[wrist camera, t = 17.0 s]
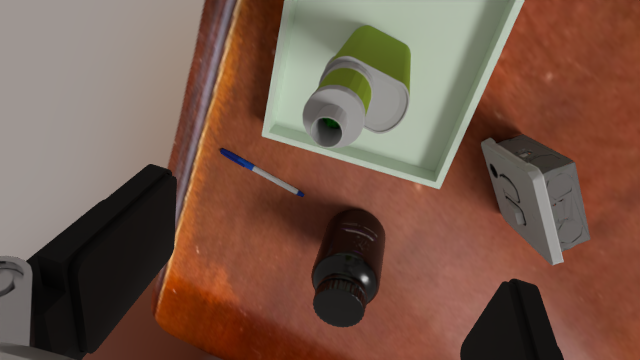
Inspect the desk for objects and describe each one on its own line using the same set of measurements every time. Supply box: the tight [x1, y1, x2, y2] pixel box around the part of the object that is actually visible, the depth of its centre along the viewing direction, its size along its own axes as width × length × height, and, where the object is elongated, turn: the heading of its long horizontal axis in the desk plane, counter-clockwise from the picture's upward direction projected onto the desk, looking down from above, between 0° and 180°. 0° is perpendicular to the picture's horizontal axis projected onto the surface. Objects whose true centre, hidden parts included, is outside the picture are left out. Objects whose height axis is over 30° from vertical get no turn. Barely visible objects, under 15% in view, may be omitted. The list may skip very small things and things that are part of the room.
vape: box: [302, 25, 411, 148], centre depth 28 cm, size 4×6×20 cm, turn 65°
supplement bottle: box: [311, 210, 385, 327], centre depth 42 cm, size 7×7×12 cm
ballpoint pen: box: [220, 149, 304, 197], centre depth 46 cm, size 10×1×1 cm, turn 64°
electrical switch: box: [481, 134, 590, 265], centre depth 36 cm, size 9×5×9 cm, turn 24°
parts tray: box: [262, 0, 524, 189], centre depth 36 cm, size 20×18×3 cm
